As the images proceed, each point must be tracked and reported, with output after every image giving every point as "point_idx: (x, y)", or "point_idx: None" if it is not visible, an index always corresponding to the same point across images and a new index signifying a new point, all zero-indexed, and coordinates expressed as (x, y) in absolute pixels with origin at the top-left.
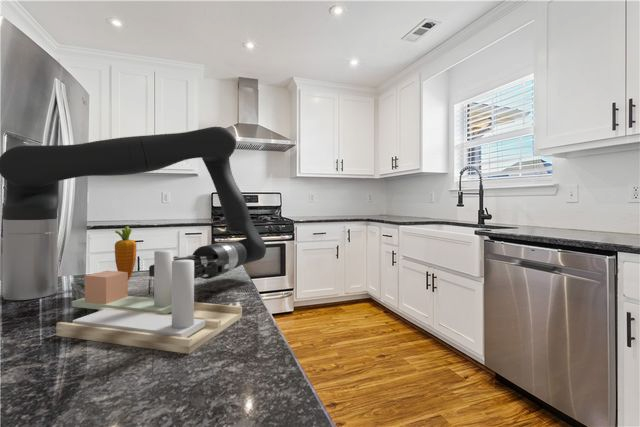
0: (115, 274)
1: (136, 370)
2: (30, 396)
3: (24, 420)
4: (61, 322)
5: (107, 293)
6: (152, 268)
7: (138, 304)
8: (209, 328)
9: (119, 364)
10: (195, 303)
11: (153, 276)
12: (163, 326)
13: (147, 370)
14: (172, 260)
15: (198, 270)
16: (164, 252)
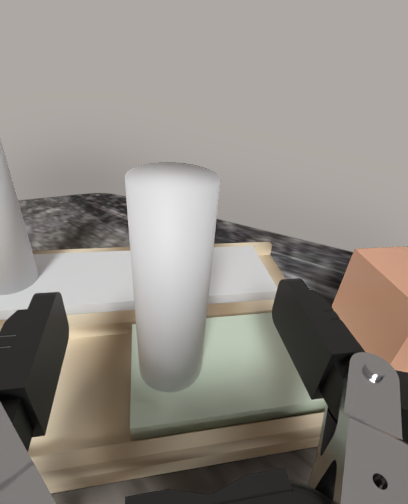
0: (391, 275)
1: (47, 236)
2: (121, 203)
3: (92, 193)
4: (266, 244)
5: (339, 293)
6: (278, 286)
7: (247, 337)
8: None
9: (82, 239)
10: (70, 453)
11: (273, 321)
12: (55, 266)
13: (32, 239)
14: (129, 226)
15: (2, 335)
16: (144, 166)
